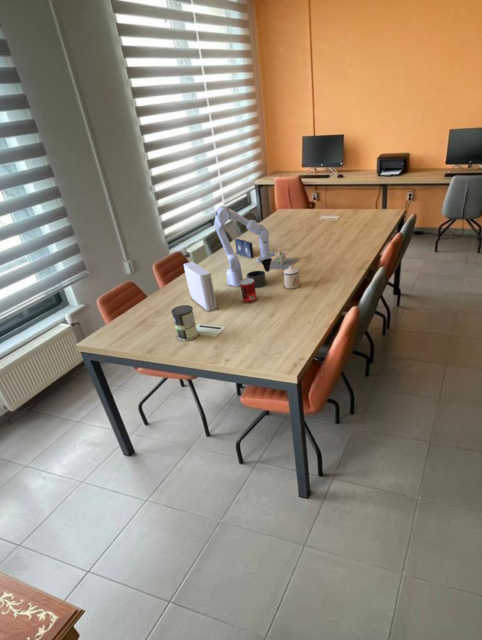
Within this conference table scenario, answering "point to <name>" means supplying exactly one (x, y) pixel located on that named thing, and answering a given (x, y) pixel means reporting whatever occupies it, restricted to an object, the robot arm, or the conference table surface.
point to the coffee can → (184, 322)
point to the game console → (200, 286)
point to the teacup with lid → (291, 277)
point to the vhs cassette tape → (244, 248)
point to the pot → (257, 278)
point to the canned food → (248, 290)
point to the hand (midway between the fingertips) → (267, 271)
